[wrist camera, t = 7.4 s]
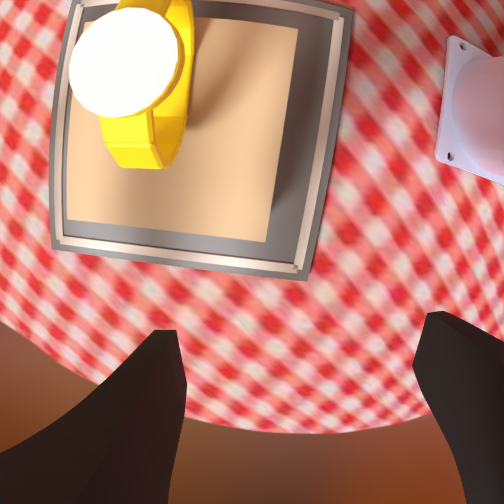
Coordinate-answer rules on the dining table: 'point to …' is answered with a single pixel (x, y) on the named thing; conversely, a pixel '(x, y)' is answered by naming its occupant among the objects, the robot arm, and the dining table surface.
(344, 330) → the dining table surface
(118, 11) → the watch
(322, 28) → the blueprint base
